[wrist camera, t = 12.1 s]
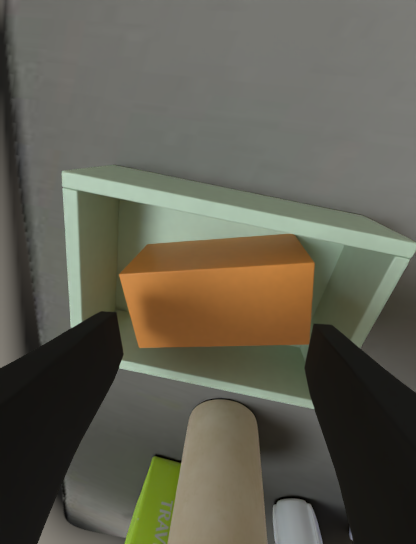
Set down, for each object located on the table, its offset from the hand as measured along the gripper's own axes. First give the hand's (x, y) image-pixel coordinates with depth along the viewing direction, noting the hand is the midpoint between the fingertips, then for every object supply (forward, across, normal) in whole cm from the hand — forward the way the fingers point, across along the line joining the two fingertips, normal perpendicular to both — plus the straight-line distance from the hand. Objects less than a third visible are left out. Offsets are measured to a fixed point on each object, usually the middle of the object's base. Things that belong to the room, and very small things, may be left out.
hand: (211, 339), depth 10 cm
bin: (+6, 0, 0) cm, 6 cm away
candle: (+6, 0, +14) cm, 15 cm away
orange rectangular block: (+6, 0, 0) cm, 6 cm away
